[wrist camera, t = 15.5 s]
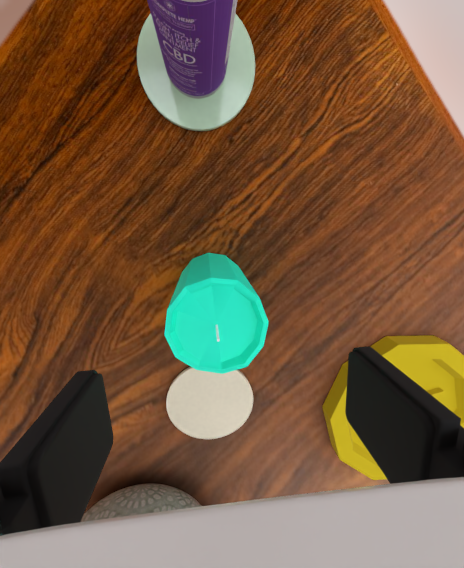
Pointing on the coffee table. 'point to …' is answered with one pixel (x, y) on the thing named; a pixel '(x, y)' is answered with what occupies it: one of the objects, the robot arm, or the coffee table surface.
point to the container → (194, 42)
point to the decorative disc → (417, 366)
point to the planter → (140, 502)
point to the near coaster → (193, 110)
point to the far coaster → (209, 402)
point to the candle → (215, 316)
